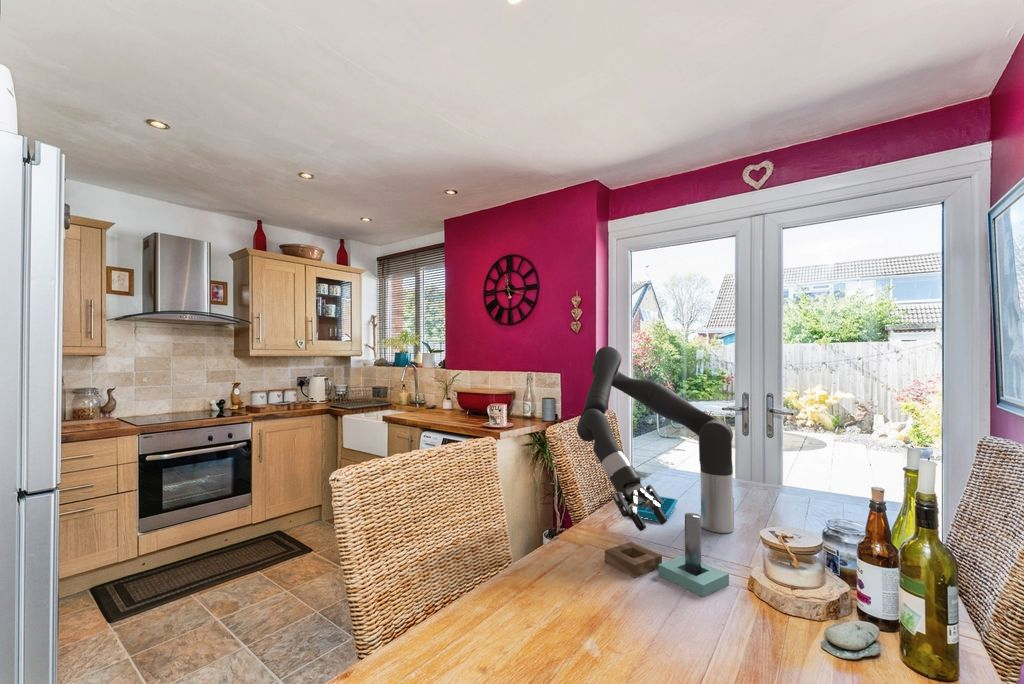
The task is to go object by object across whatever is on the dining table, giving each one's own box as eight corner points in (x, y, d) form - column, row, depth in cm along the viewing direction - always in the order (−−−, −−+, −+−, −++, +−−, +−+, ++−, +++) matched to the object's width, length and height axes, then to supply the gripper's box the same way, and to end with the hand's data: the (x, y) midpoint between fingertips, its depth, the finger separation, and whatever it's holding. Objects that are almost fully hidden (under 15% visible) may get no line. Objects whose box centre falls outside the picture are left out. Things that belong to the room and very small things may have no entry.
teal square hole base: (683, 564, 113) (683, 554, 114) (729, 584, 103) (728, 573, 104) (658, 574, 108) (658, 564, 108) (703, 596, 98) (703, 585, 98)
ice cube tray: (630, 518, 147) (630, 509, 148) (645, 502, 165) (645, 494, 165) (667, 525, 142) (667, 515, 142) (678, 507, 159) (678, 499, 159)
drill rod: (691, 574, 108) (690, 512, 109) (704, 580, 105) (704, 516, 106) (681, 578, 106) (681, 514, 107) (695, 584, 103) (694, 519, 104)
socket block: (631, 553, 120) (631, 541, 120) (662, 567, 112) (662, 555, 112) (604, 562, 114) (604, 550, 115) (635, 577, 106) (635, 565, 106)
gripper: (630, 475, 131) (663, 527, 121) (595, 483, 123) (627, 539, 113) (644, 461, 127) (680, 513, 117) (609, 467, 119) (644, 524, 109)
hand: (654, 526), depth 115 cm, fingers open, 8 cm apart
